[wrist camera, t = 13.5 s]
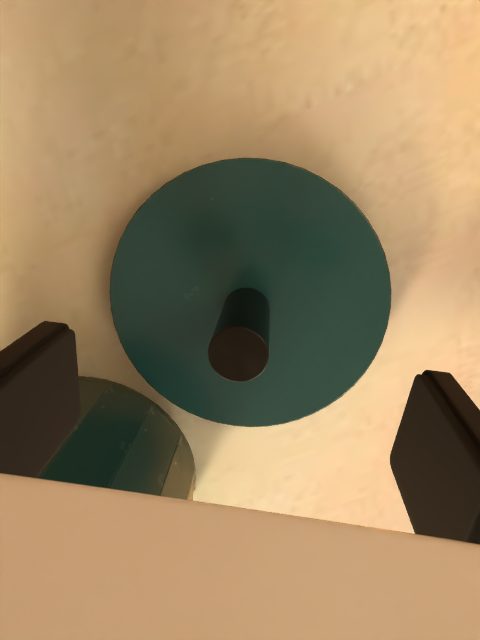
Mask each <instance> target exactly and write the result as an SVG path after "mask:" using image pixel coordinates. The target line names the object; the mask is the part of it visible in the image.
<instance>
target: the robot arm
mask: <svg viewBox="0 0 480 640" xmlns="http://www.w3.org/2000/svg"><path fill="white" fill-rule="evenodd" d="M80 413H81V407H80V393H79V380H78V367H77V354H76V341H75V333H74V331H73V330H71V329H69V327H68V325H67V324H65V323H57V322H49V321H44V322H42V323H40V324H39V325H37V326H36V327H35V328H33V329H32V330H30V331H29V332H27V333H26V334H25V335H23V336H22V337H20V338H19V339H17V340H16V341H15V342H13V343H12V344H10V345H9V346H8V347H6V348H5V349H3V350H2V351H0V640H480V410H479V409H478V408H477V406H476V405H475V404H474V402H473V401H472V400H471V399H470V397H469V396H468V395H467V394H466V392H465V391H464V390H463V389H462V387H461V386H460V385H459V384H458V382H457V381H456V380H455V379H454V377H453V376H452V375H451V374H450V373H447V372H439V371H431V370H425V371H424V372H423V373H422V375H420V374H418V375H416V377H415V379H414V382H413V385H412V388H411V391H410V394H409V397H408V400H407V404H406V407H405V410H404V413H403V416H402V419H401V423H400V426H399V429H398V432H397V435H396V438H395V441H394V445H393V448H392V451H391V455H390V465H391V469H392V471H393V474H394V477H395V480H396V482H397V485H398V488H399V491H400V493H401V496H402V499H403V502H404V504H405V507H406V510H407V513H408V515H409V518H410V521H411V524H412V526H413V529H414V532H415V534H411V533H405V532H398V531H392V530H385V529H379V528H372V527H365V526H359V525H352V524H346V523H339V522H333V521H326V520H319V519H312V518H306V517H299V516H292V515H286V514H279V513H272V512H265V511H259V510H252V509H245V508H238V507H232V506H225V505H218V504H211V503H205V502H198V501H191V500H184V499H177V498H170V497H163V496H156V495H149V494H142V493H136V492H129V491H122V490H115V489H108V488H101V487H95V486H88V485H81V484H74V483H66V482H59V481H52V480H45V479H38V478H36V477H37V476H38V474H39V473H40V472H41V470H42V469H43V468H44V466H45V465H46V464H47V463H48V461H49V460H50V459H51V457H52V456H53V455H54V453H55V452H56V451H57V449H58V448H59V447H60V445H61V444H62V443H63V441H64V440H65V439H66V437H67V436H68V435H69V433H70V432H71V431H72V429H73V428H74V427H75V425H76V424H77V422H78V420H79V418H80Z"/></svg>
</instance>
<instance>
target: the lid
mask: <svg viewBox="0 0 480 640" xmlns="http://www.w3.org/2000/svg"><path fill="white" fill-rule="evenodd" d="M110 301H111V311H112V315H113V320H114V324H115V328H116V331H117V334H118V336H119V339H120V342H121V344H122V346H123V348H124V350H125V352H126V354H127V356H128V357H129V359H130V360H131V362H132V363H133V365H134V366H135V368H136V369H137V371H138V372H139V373H140V374H141V375H142V377H143V378H144V379H145V380H146V381H147V382H148V383H149V384H150V385H151V386H152V387H153V388H154V389H155V390H156V391H157V392H158V393H159V394H161V395H162V396H163V397H165V398H166V399H168V400H169V401H170V402H172V403H173V404H175V405H177V406H178V407H180V408H182V409H184V410H185V411H187V412H189V413H192V414H194V415H196V416H199V417H201V418H204V419H207V420H211V421H214V422H217V423H222V424H227V425H233V426H245V427H261V426H272V425H279V424H284V423H288V422H292V421H295V420H299V419H301V418H304V417H306V416H309V415H312V414H314V413H316V412H318V411H319V410H321V409H323V408H325V407H327V406H329V405H330V404H331V403H333V402H334V401H336V400H337V399H339V398H340V397H342V396H343V395H344V394H345V393H346V392H347V391H348V390H349V389H350V388H352V387H353V386H354V385H355V384H356V382H357V381H358V380H359V379H360V378H361V377H362V375H363V374H364V373H365V372H366V370H367V369H368V367H369V366H370V364H371V363H372V361H373V360H374V358H375V356H376V354H377V352H378V350H379V348H380V346H381V344H382V341H383V338H384V335H385V332H386V329H387V326H388V320H389V315H390V309H391V283H390V273H389V269H388V265H387V261H386V257H385V253H384V251H383V248H382V246H381V243H380V241H379V239H378V236H377V234H376V233H375V231H374V229H373V228H372V226H371V224H370V223H369V221H368V219H367V218H366V217H365V216H364V214H363V213H362V212H361V211H360V209H359V208H358V207H357V206H356V204H355V203H354V202H353V201H351V200H350V199H349V198H348V197H347V196H346V195H345V194H344V193H343V192H342V191H341V190H339V189H338V188H337V187H335V186H334V185H332V184H331V183H329V182H328V181H326V180H325V179H323V178H322V177H320V176H318V175H316V174H314V173H312V172H310V171H308V170H306V169H303V168H300V167H297V166H294V165H291V164H288V163H285V162H280V161H274V160H268V159H259V158H238V159H228V160H221V161H217V162H213V163H209V164H205V165H202V166H199V167H197V168H194V169H192V170H190V171H187V172H185V173H183V174H181V175H179V176H178V177H176V178H174V179H173V180H171V181H169V182H168V183H166V184H165V185H164V186H162V187H161V188H160V189H159V190H157V191H156V192H155V193H154V194H152V195H151V196H150V197H149V198H148V199H147V201H146V202H145V203H144V204H143V205H142V206H141V207H140V208H139V209H138V211H137V212H136V213H135V215H134V216H133V218H132V219H131V221H130V222H129V224H128V225H127V227H126V229H125V231H124V233H123V235H122V237H121V239H120V241H119V244H118V247H117V250H116V253H115V256H114V260H113V265H112V271H111V278H110Z"/></svg>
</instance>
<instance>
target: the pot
mask: <svg viewBox="0 0 480 640" xmlns="http://www.w3.org/2000/svg"><path fill="white" fill-rule="evenodd" d="M78 380H79V393H80V407H81V413H80V418H79V420H78V422H77V424H76V425H75V427H74V428H73V429H72V431H71V432H70V433H69V435H68V436H67V437H66V439H65V440H64V441H63V443H62V444H61V445H60V447H59V448H58V449H57V451H56V452H55V453H54V455H53V456H52V457H51V459H50V460H49V461H48V463H47V464H46V465H45V466H44V468H43V469H42V470H41V472H40V473H39V474H38V476H37V477H36V478H38V479H45V480H52V481H59V482H66V483H74V484H81V485H88V486H95V487H101V488H108V489H115V490H122V491H129V492H136V493H142V494H149V495H156V496H163V497H170V498H177V499H184V500H191V501H193V491H194V485H195V465H194V459H193V455H192V452H191V449H190V446H189V444H188V442H187V440H186V438H185V436H184V435H183V433H182V432H181V430H180V429H179V427H178V426H177V424H176V423H175V422H174V421H173V420H172V419H171V417H170V416H169V415H168V414H167V413H166V412H165V411H163V410H162V409H161V408H160V407H159V406H158V405H157V404H155V403H154V402H152V401H151V400H150V399H148V398H147V397H145V396H143V395H142V394H140V393H138V392H136V391H135V390H132V389H130V388H128V387H125V386H123V385H121V384H118V383H114V382H111V381H108V380H103V379H98V378H93V377H79V376H78Z"/></svg>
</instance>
